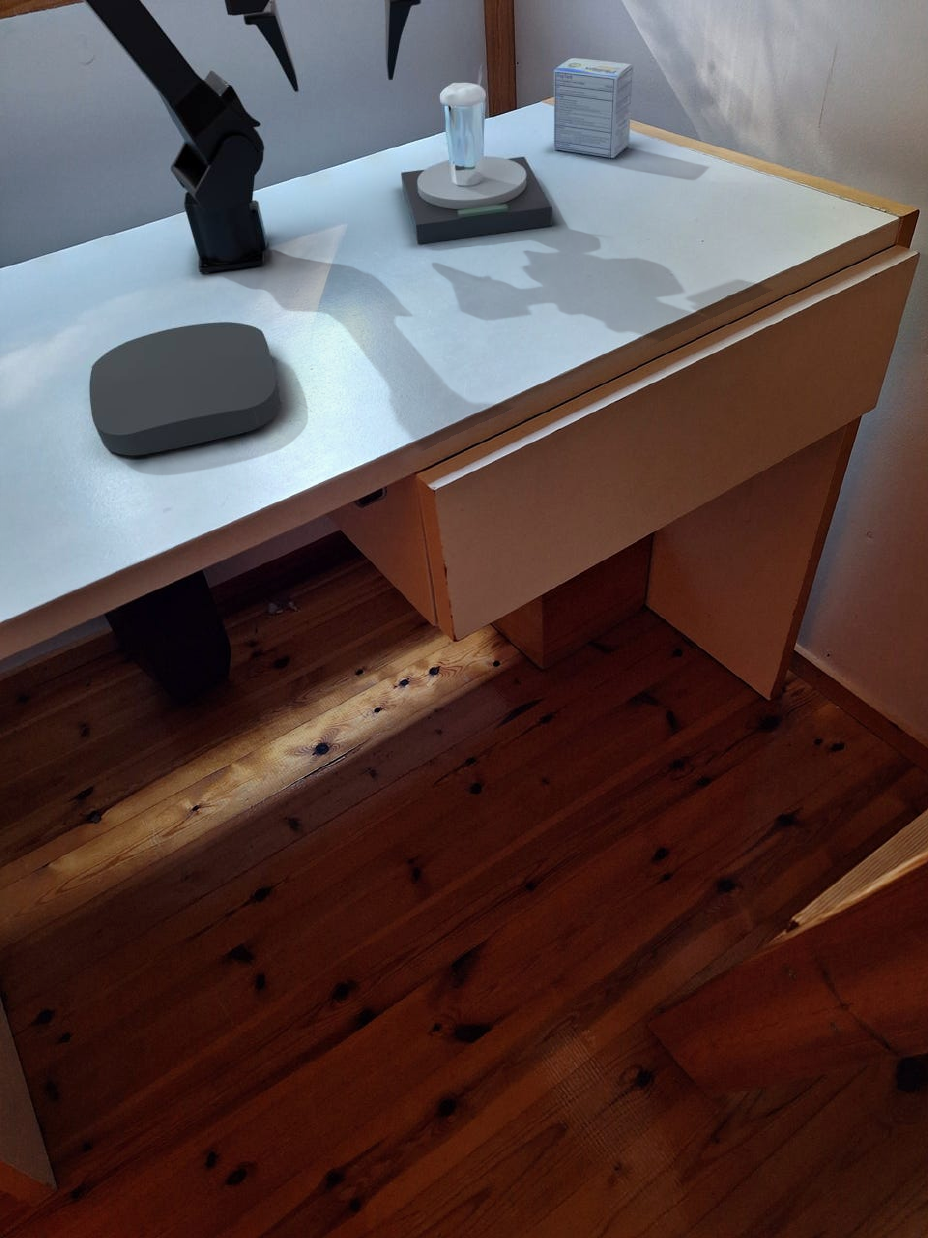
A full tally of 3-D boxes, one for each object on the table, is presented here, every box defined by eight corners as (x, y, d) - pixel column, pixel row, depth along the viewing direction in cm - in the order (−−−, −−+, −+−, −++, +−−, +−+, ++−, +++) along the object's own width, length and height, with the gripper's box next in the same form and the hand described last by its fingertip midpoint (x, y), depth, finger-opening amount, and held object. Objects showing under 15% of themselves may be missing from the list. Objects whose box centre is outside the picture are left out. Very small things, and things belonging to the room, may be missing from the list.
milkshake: (503, 175, 95) (500, 68, 88) (468, 192, 93) (462, 84, 86) (472, 165, 98) (466, 61, 90) (437, 182, 95) (428, 76, 88)
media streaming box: (102, 469, 69) (88, 436, 67) (100, 372, 79) (87, 341, 77) (289, 427, 71) (281, 395, 69) (265, 338, 81) (257, 307, 79)
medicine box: (629, 146, 106) (635, 63, 100) (612, 160, 104) (617, 75, 97) (570, 137, 109) (571, 55, 103) (552, 150, 107) (552, 67, 101)
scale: (417, 244, 92) (414, 214, 90) (402, 190, 102) (399, 162, 100) (551, 226, 93) (552, 196, 91) (524, 174, 103) (524, 146, 100)
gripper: (411, -146, 82) (427, 49, 94) (207, -123, 81) (248, 71, 93) (426, -127, 75) (442, 82, 86) (201, -102, 74) (247, 107, 85)
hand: (343, 84), depth 88 cm, fingers open, 9 cm apart
